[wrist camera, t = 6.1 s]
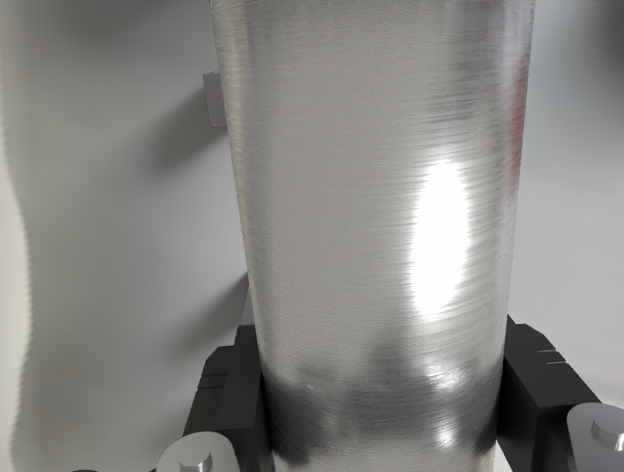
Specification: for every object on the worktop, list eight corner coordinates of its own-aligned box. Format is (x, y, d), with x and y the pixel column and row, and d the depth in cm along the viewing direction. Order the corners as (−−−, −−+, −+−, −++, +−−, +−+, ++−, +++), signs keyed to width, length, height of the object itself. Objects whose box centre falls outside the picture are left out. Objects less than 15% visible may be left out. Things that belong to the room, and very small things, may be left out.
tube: (235, 9, 10) (161, -31, 5) (473, -12, 10) (628, -72, 5) (300, 533, 16) (294, 744, 11) (449, 526, 16) (509, 736, 11)
